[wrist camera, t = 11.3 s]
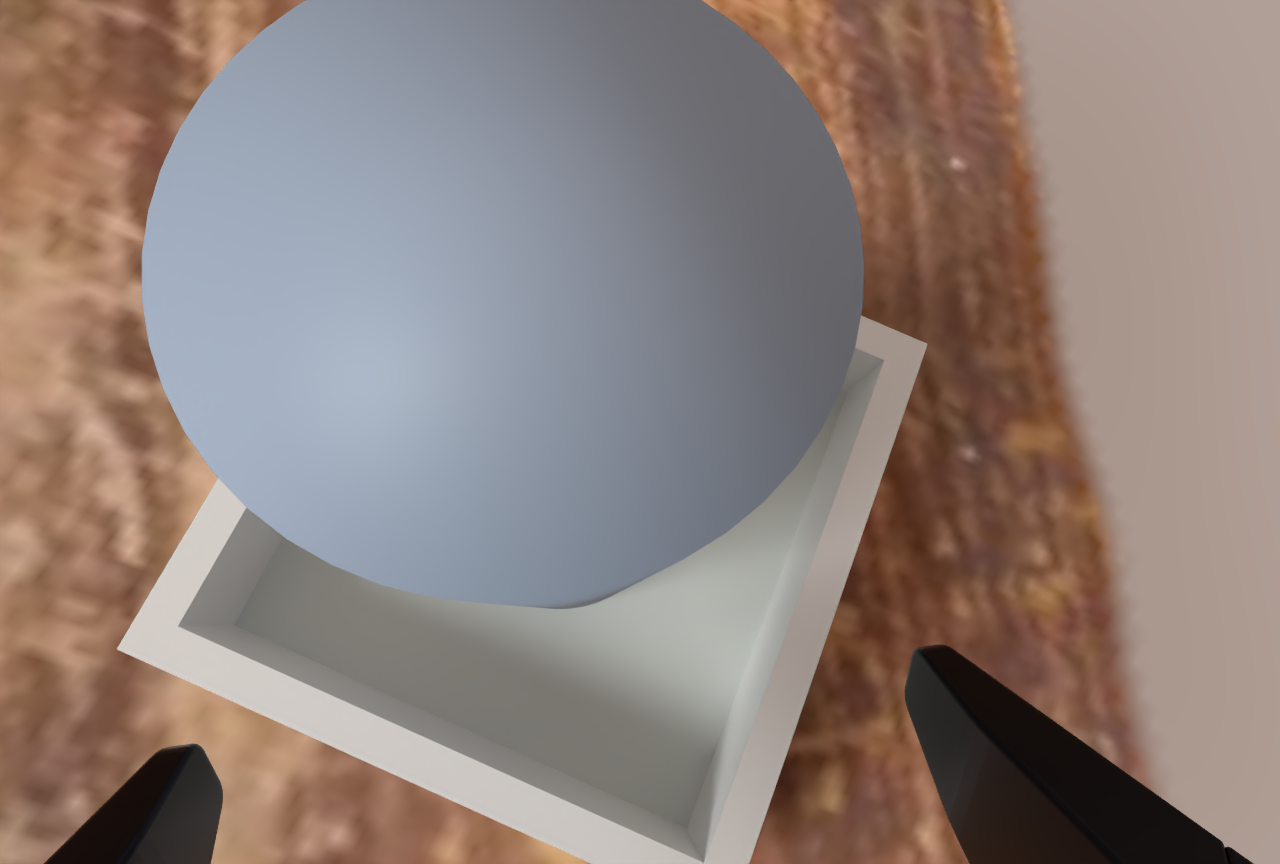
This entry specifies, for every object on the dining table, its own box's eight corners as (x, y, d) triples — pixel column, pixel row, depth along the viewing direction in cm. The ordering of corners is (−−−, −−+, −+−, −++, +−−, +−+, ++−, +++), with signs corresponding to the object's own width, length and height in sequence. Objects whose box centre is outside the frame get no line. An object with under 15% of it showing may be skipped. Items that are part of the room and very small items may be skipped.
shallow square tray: (877, 384, 20) (927, 343, 17) (702, 872, 17) (727, 925, 14) (447, 199, 20) (425, 129, 17) (195, 644, 17) (117, 649, 14)
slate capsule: (708, 491, 18) (992, 218, 6) (573, 655, 17) (546, 779, 4) (554, 362, 19) (495, -158, 6) (412, 513, 18) (-26, 261, 5)
